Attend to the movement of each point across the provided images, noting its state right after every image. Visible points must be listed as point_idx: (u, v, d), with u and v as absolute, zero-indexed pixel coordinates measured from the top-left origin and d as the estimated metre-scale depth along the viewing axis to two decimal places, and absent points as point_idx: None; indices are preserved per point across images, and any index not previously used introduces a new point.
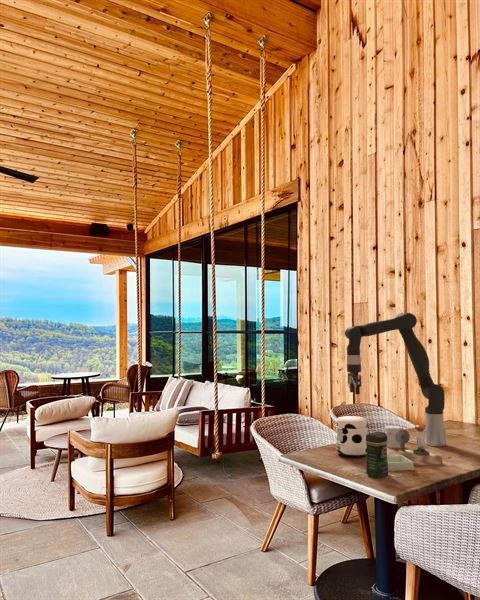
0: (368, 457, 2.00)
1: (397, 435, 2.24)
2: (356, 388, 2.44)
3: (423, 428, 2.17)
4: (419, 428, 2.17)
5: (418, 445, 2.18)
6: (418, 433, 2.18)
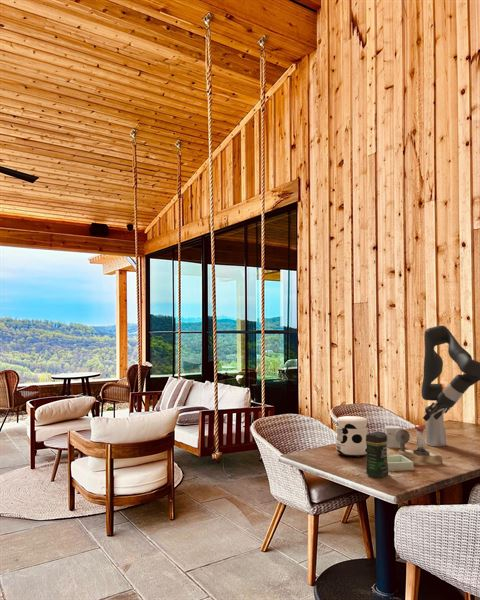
0: (368, 457, 2.00)
1: (397, 435, 2.24)
2: None
3: (423, 428, 2.17)
4: (419, 428, 2.17)
5: (418, 445, 2.18)
6: (418, 433, 2.18)
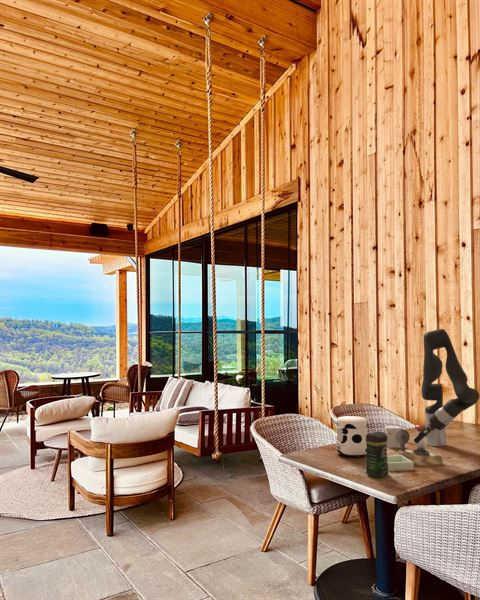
0: (368, 457, 2.00)
1: (397, 435, 2.24)
2: None
3: (423, 428, 2.17)
4: (419, 428, 2.17)
5: (418, 445, 2.18)
6: (418, 433, 2.18)
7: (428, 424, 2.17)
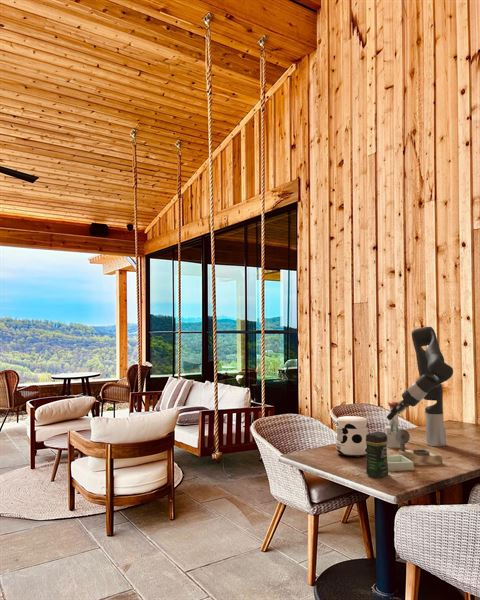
0: (368, 457, 2.00)
1: (397, 435, 2.24)
2: None
3: None
4: (392, 405, 2.12)
5: (391, 422, 2.13)
6: None
7: None
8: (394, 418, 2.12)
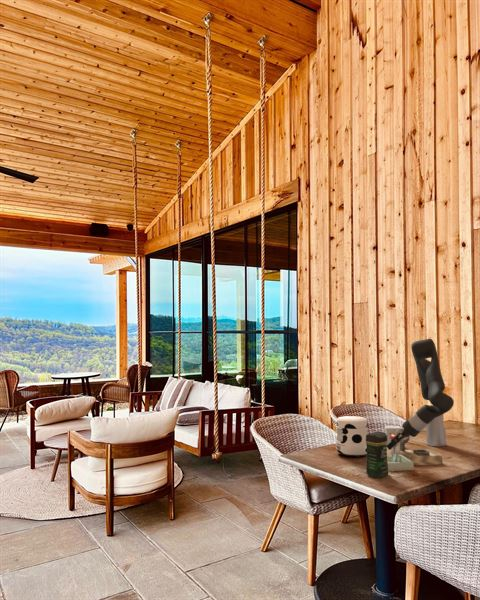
0: (368, 457, 2.00)
1: None
2: None
3: None
4: None
5: (392, 455, 2.12)
6: None
7: (401, 430, 2.12)
8: (395, 451, 2.11)
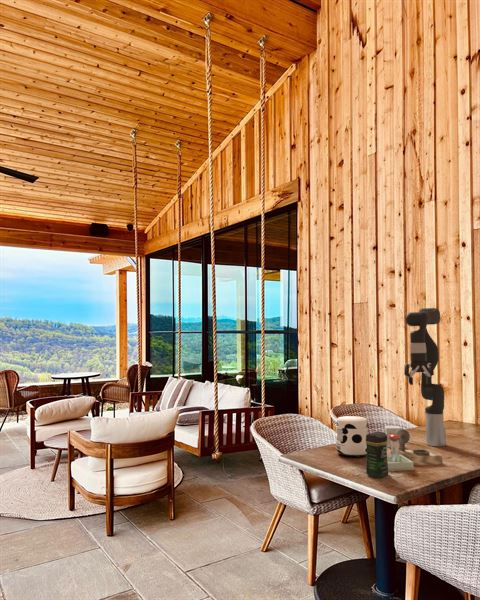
0: (368, 457, 2.00)
1: None
2: (429, 377, 2.28)
3: (397, 438, 2.11)
4: (393, 438, 2.12)
5: (392, 455, 2.12)
6: (392, 443, 2.12)
7: None
8: (395, 451, 2.11)
